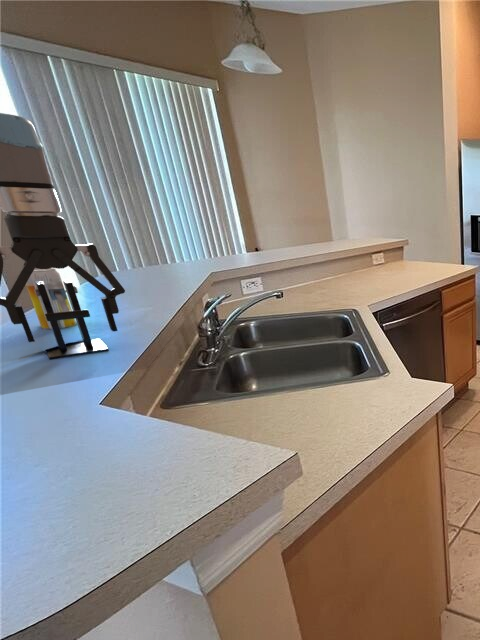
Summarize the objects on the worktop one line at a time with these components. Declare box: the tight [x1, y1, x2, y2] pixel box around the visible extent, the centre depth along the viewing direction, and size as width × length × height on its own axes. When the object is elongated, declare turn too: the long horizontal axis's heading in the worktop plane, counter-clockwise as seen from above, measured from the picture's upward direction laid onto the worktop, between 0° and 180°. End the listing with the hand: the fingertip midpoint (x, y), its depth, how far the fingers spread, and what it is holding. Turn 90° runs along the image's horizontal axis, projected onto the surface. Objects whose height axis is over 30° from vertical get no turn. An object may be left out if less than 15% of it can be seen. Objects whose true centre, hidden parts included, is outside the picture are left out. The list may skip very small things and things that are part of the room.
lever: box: [45, 282, 91, 321], centre depth 87 cm, size 12×6×2 cm, turn 47°
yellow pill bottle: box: [25, 268, 77, 330], centre depth 105 cm, size 6×6×15 cm
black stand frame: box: [34, 279, 110, 361], centre depth 91 cm, size 11×9×15 cm
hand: (74, 335), depth 86 cm, fingers open, 11 cm apart
